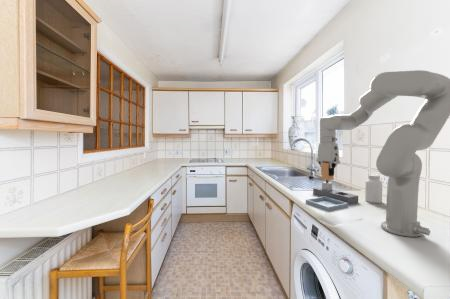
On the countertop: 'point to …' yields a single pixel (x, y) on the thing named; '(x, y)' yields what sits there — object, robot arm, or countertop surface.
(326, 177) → the plug
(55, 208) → the countertop surface
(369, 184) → the pill bottle
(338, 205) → the tray
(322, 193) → the grey two-slot holder
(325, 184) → the twin plug
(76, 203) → the countertop surface
